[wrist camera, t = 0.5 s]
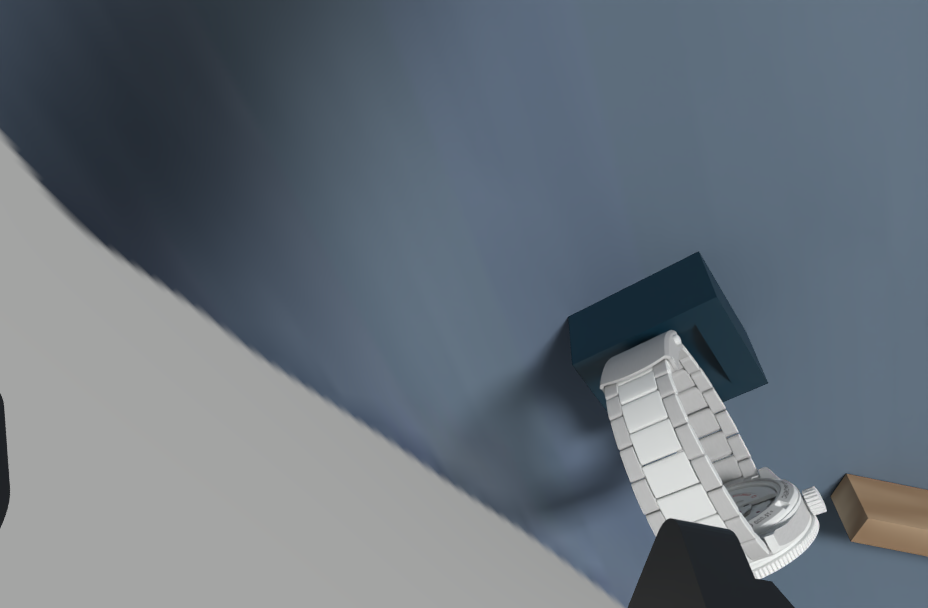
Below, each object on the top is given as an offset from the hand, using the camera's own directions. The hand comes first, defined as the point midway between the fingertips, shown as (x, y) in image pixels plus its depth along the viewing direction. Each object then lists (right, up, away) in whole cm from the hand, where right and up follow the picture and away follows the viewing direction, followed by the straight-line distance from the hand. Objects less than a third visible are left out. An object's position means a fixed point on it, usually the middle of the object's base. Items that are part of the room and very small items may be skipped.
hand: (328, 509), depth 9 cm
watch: (+9, +2, +20) cm, 22 cm away
